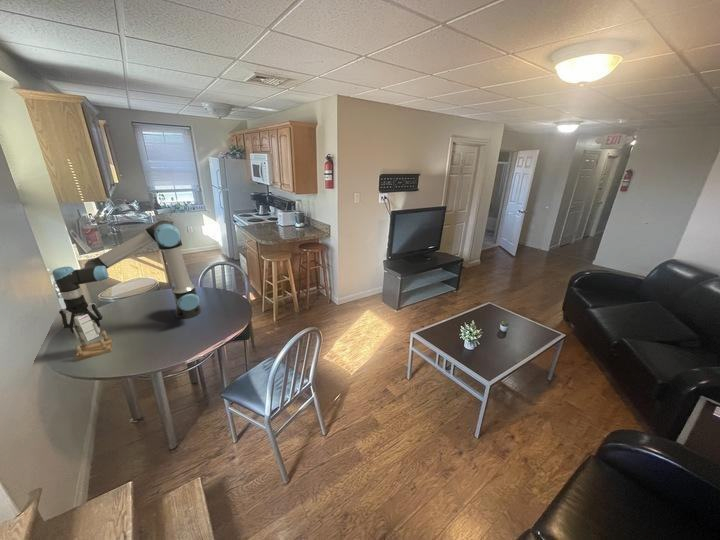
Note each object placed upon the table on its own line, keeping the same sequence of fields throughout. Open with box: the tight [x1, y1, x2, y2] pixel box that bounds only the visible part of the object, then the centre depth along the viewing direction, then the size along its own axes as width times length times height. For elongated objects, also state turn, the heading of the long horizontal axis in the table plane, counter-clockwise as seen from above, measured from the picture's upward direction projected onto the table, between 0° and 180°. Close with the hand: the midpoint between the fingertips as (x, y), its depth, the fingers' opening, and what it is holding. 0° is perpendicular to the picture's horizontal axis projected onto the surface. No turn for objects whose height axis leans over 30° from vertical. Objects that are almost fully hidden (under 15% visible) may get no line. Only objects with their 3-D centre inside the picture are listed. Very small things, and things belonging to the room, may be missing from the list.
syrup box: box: [73, 313, 100, 342], centre depth 151 cm, size 6×6×14 cm
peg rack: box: [74, 329, 114, 362], centre depth 156 cm, size 12×14×8 cm
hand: (88, 334), depth 153 cm, fingers closed on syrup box, 8 cm apart
